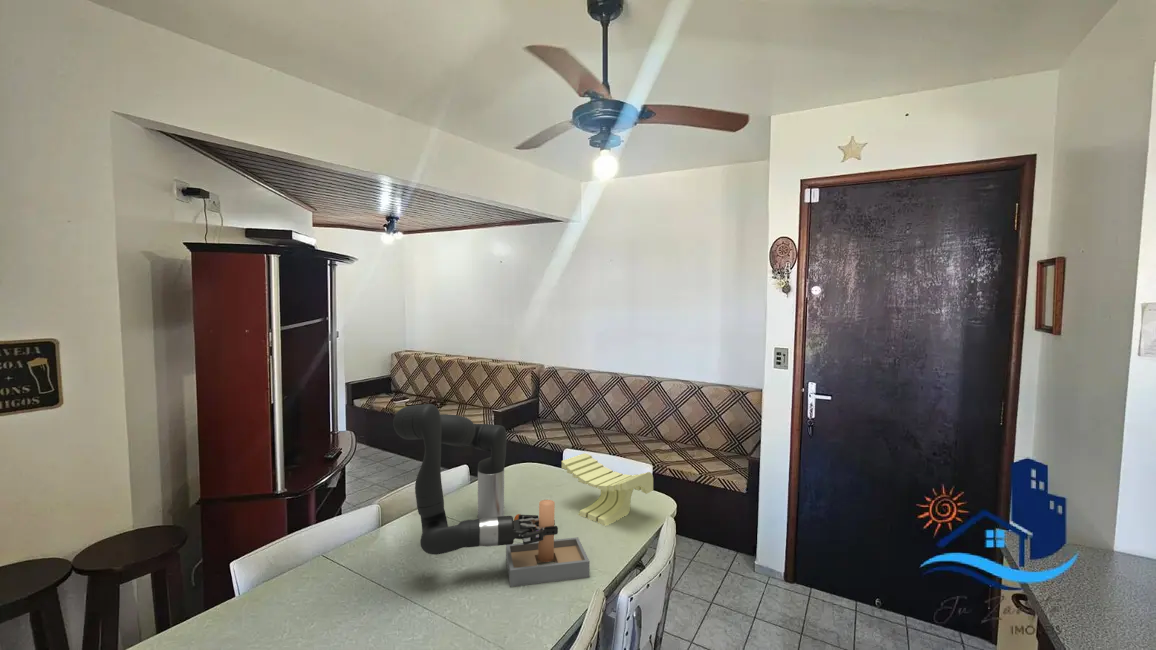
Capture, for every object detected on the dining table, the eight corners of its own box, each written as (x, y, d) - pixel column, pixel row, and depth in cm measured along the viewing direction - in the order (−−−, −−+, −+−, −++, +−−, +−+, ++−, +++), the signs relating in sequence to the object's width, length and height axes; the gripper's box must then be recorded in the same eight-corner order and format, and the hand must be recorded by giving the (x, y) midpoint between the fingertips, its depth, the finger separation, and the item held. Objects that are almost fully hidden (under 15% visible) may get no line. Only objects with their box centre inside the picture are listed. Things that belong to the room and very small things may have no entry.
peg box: (505, 559, 141) (506, 544, 141) (577, 551, 146) (578, 537, 146) (510, 586, 128) (510, 570, 127) (589, 577, 133) (589, 561, 132)
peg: (537, 554, 138) (538, 500, 138) (552, 552, 139) (553, 499, 139) (539, 562, 134) (540, 506, 133) (554, 560, 135) (555, 505, 134)
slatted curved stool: (652, 519, 169) (653, 469, 168) (625, 534, 157) (626, 481, 157) (589, 495, 189) (589, 451, 189) (561, 507, 178) (561, 460, 177)
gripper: (497, 529, 126) (561, 524, 130) (494, 507, 140) (552, 503, 144) (497, 557, 126) (560, 551, 130) (494, 532, 140) (551, 527, 144)
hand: (555, 525), depth 137 cm, fingers closed on peg, 4 cm apart
